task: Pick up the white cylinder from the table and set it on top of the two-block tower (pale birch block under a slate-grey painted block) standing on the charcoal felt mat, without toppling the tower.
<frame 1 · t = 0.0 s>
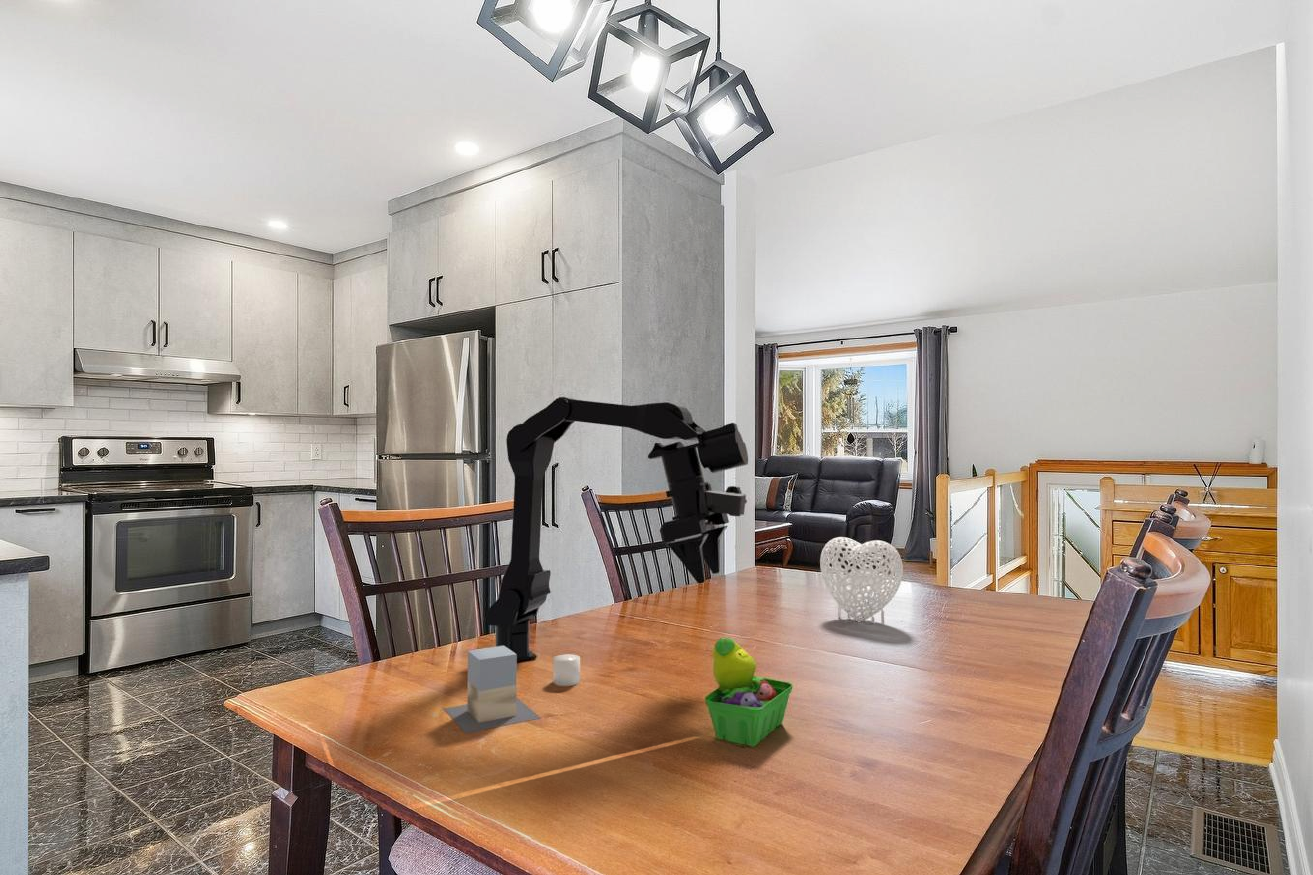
hand: (709, 577, 113), 15 cm above the table, fingers open, 9 cm apart
fruit basket: (745, 731, 91), on the table
white cylinder: (566, 684, 109), on the table
decorative heart: (860, 622, 150), on the table
top block: (491, 682, 96), point 4 cm above the table, touching bottom block
mat: (491, 716, 96), on the table
bottom block: (491, 713, 96), resting on mat, touching top block
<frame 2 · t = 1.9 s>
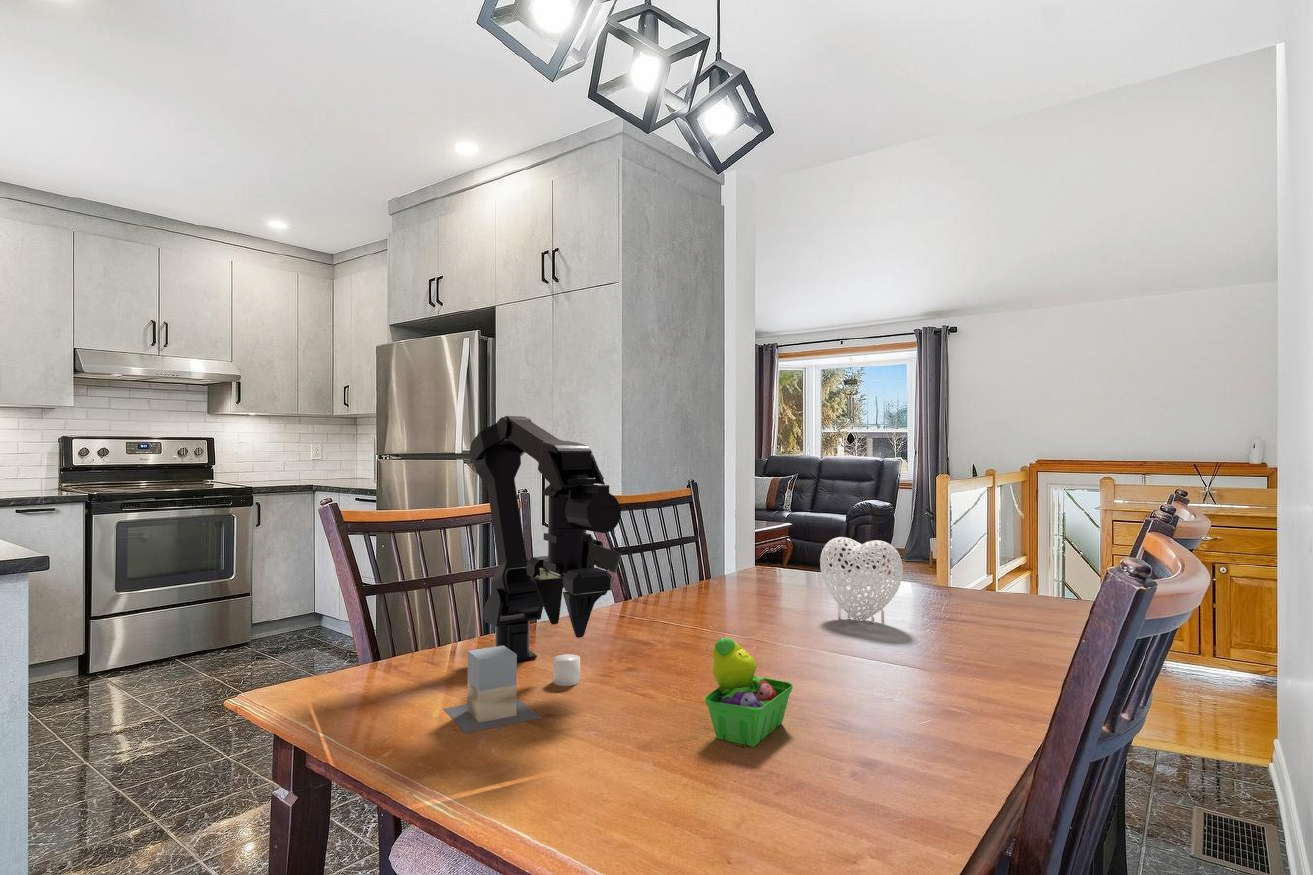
hand: (566, 630, 109), 8 cm above the table, fingers open, 9 cm apart
nothing on the table moved.
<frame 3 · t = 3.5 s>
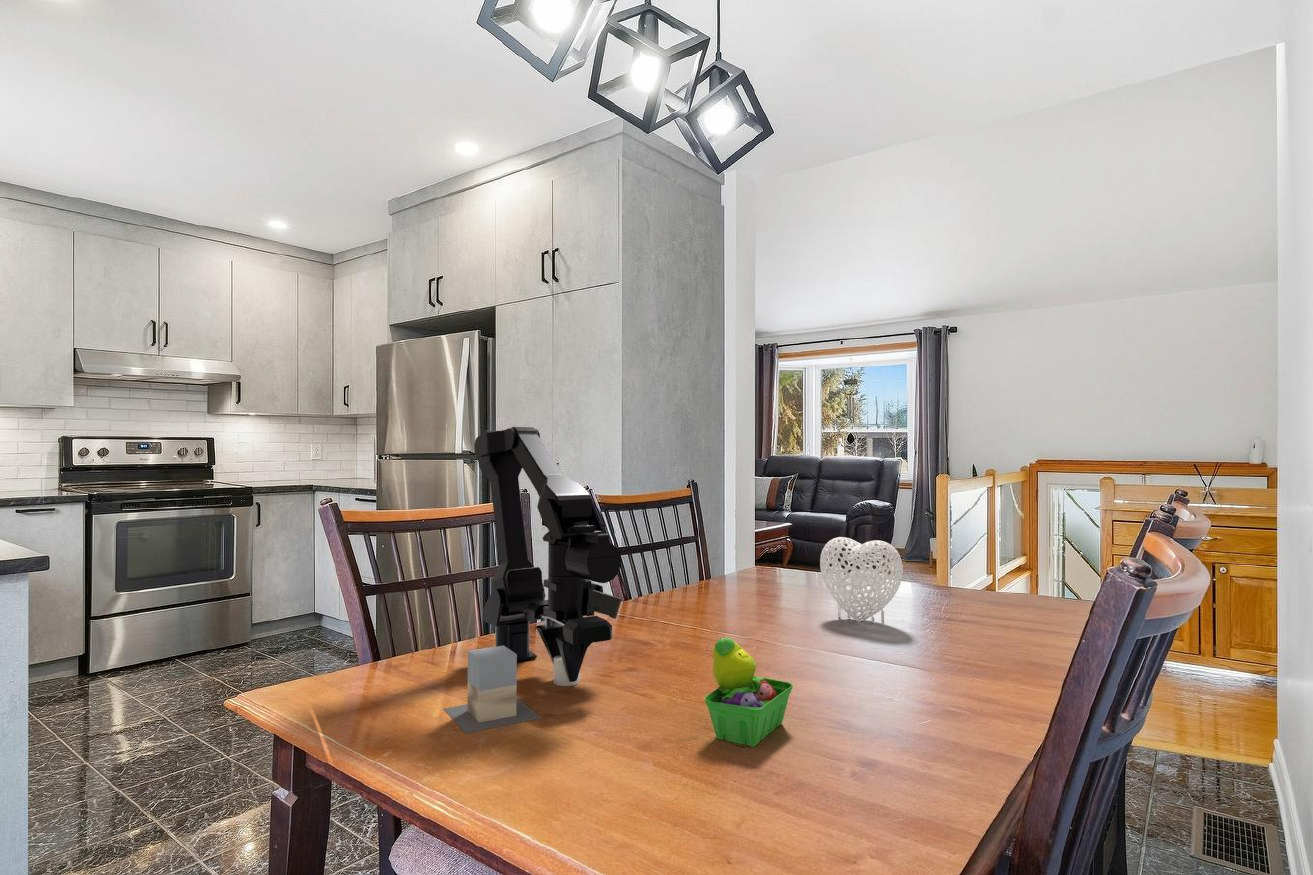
hand: (566, 677, 109), 1 cm above the table, fingers closed on white cylinder, 4 cm apart
white cylinder: (566, 684, 109), on the table, touching gripper
everything else where it was.
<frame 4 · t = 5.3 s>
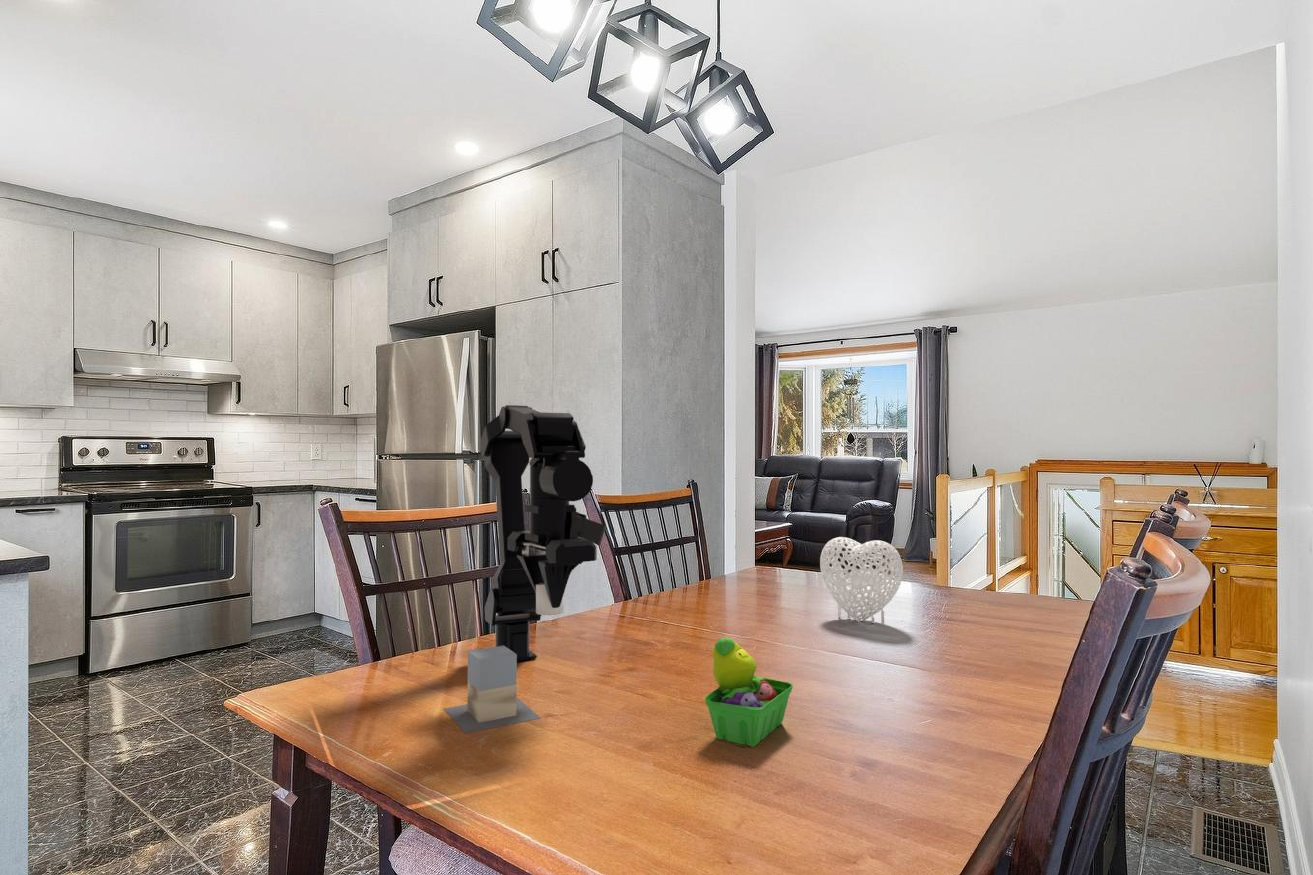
hand: (549, 605, 106), 13 cm above the table, fingers closed on white cylinder, 4 cm apart
white cylinder: (549, 612, 106), point 12 cm above the table, touching gripper
everything else where it was.
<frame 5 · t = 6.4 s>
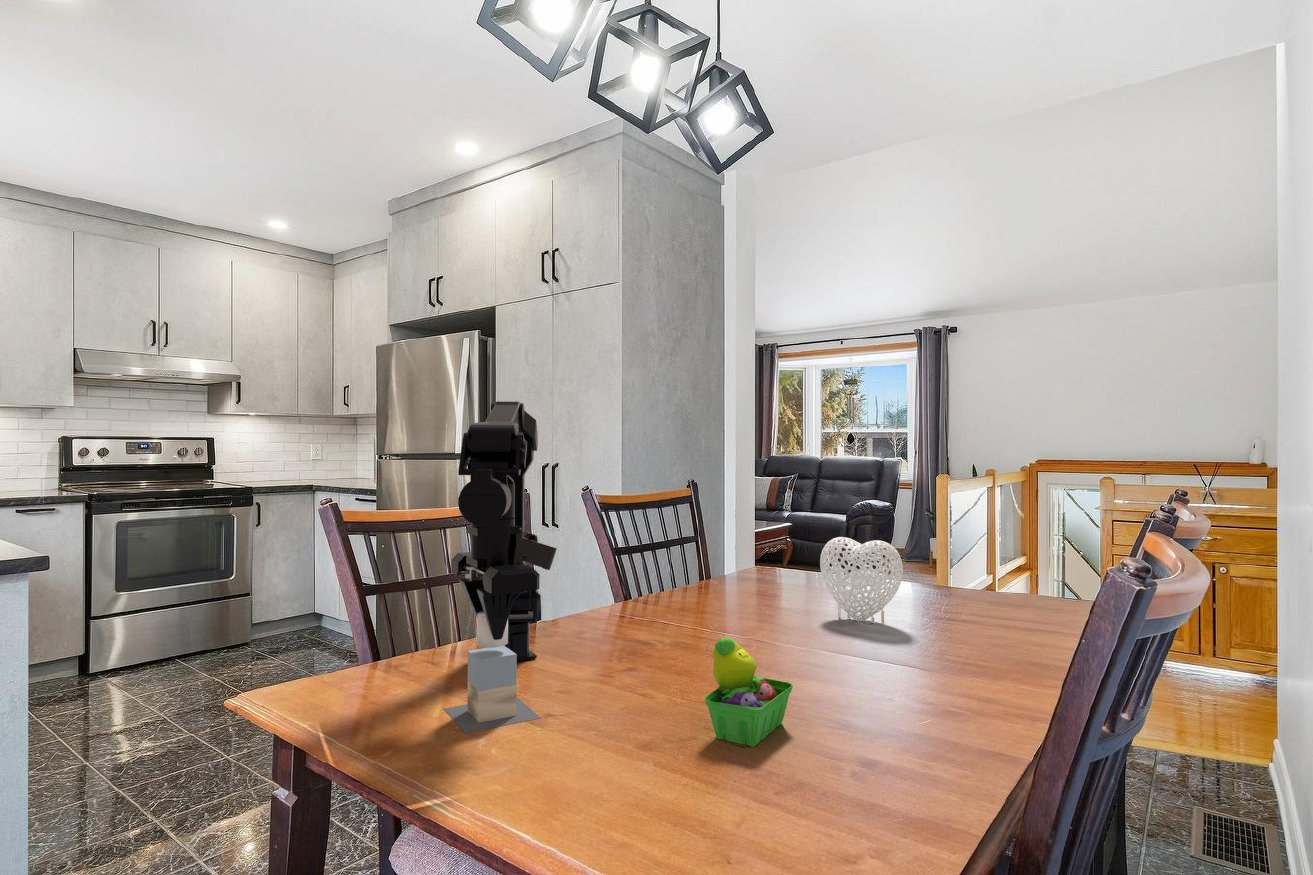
hand: (492, 635, 96), 11 cm above the table, fingers closed on white cylinder, 4 cm apart
white cylinder: (492, 643, 96), point 10 cm above the table, touching gripper
everything else where it was.
when the fingers open (10 cm above the table, at t = 7.1 s): white cylinder drops 1 cm, resting on top block.
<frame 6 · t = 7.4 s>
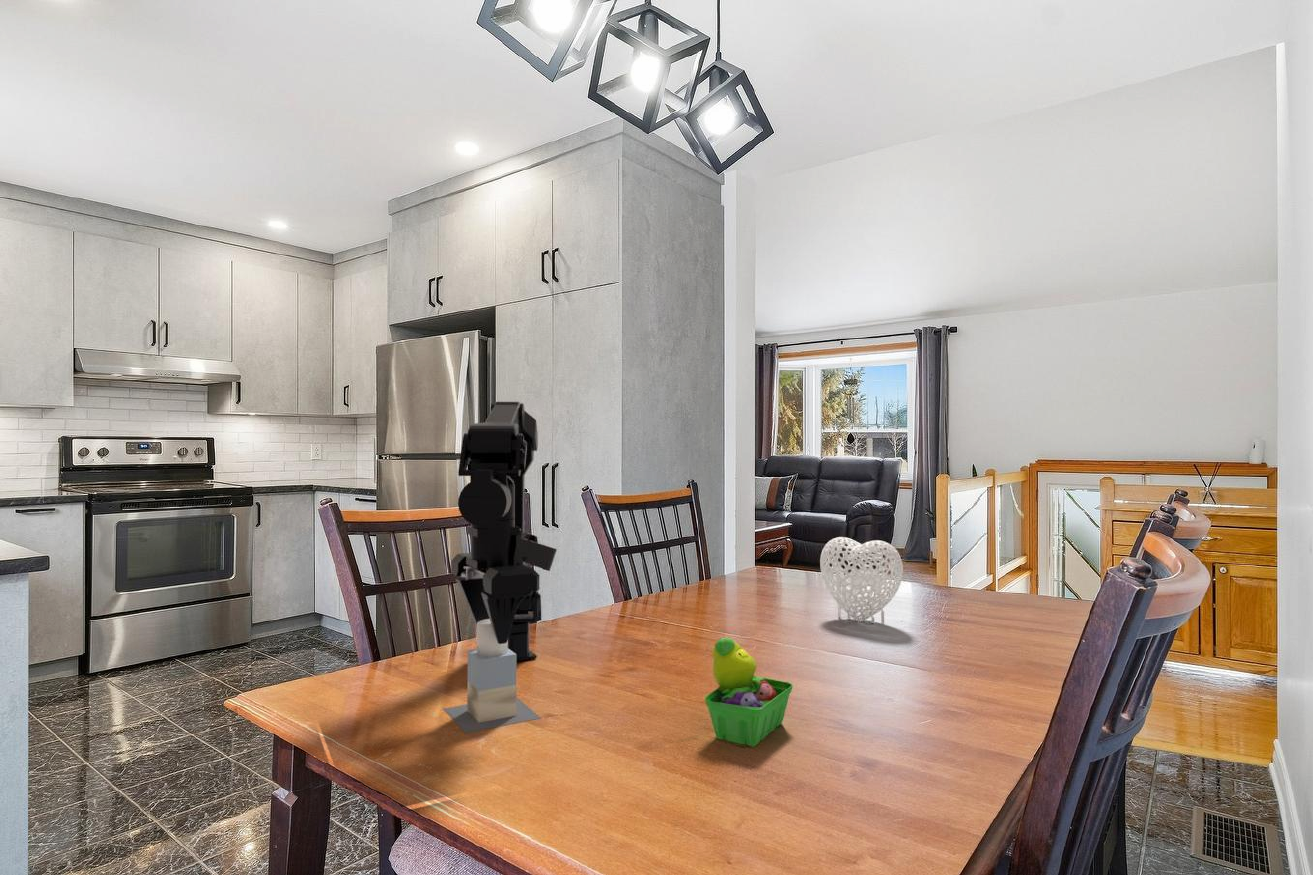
hand: (492, 636, 96), 10 cm above the table, fingers open, 8 cm apart
white cylinder: (492, 652, 96), point 8 cm above the table, touching top block
top block: (491, 682, 96), point 4 cm above the table, touching bottom block, white cylinder
everything else where it was.
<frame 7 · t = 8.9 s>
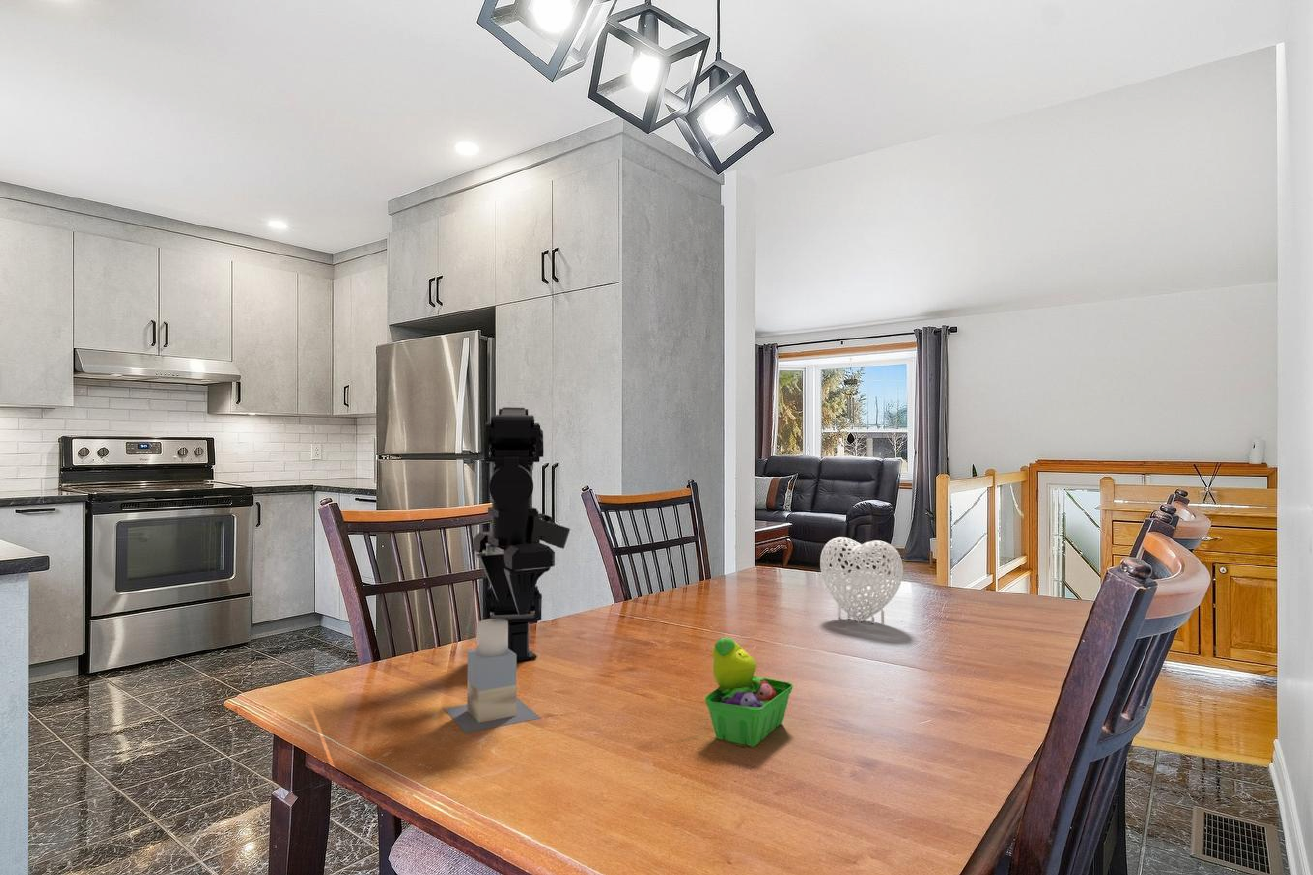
hand: (511, 607, 106), 12 cm above the table, fingers open, 9 cm apart
nothing on the table moved.
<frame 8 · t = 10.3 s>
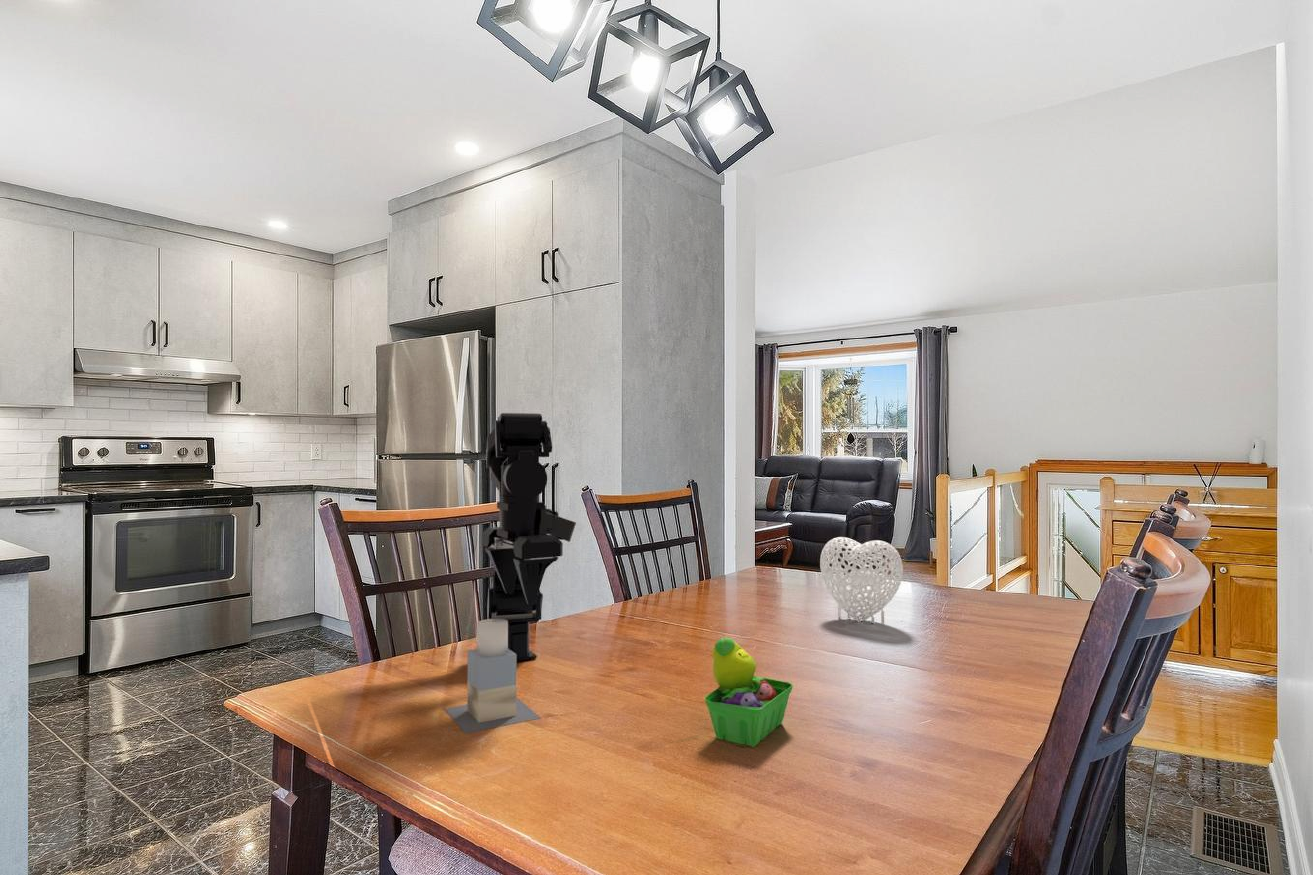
hand: (519, 598, 110), 13 cm above the table, fingers open, 9 cm apart
nothing on the table moved.
at the end: white cylinder 0.1 cm off-centre on the top block, point 4.0 cm above the top block's base; top block tilted 0°; bottom block moved 0.1 cm from its start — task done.
